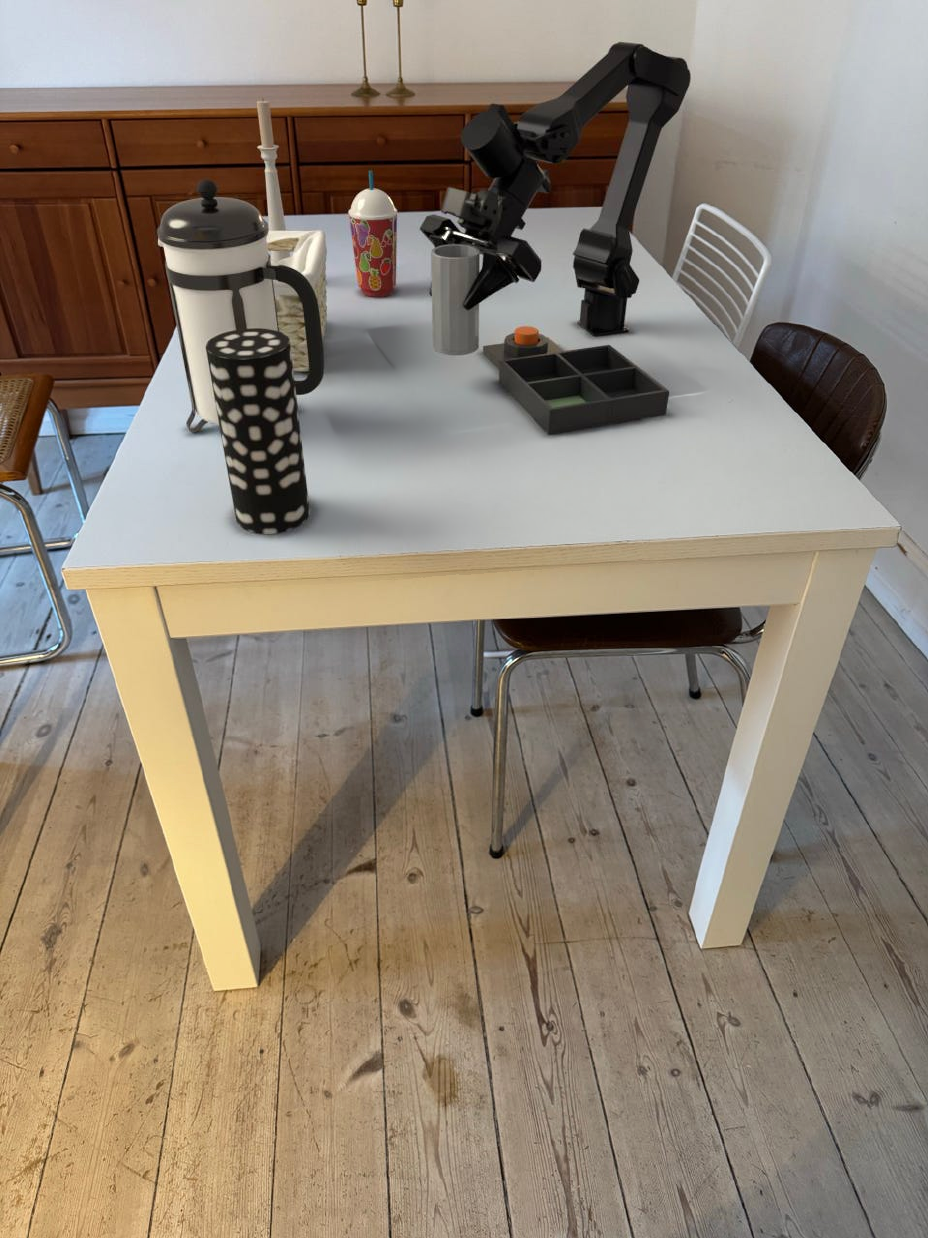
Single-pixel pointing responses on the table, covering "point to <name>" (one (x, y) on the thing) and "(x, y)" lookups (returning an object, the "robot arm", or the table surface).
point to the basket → (288, 304)
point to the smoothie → (374, 240)
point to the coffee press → (226, 286)
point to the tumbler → (454, 299)
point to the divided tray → (582, 388)
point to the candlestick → (271, 176)
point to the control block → (519, 349)
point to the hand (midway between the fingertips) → (448, 302)
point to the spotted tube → (260, 428)
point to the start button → (526, 335)
